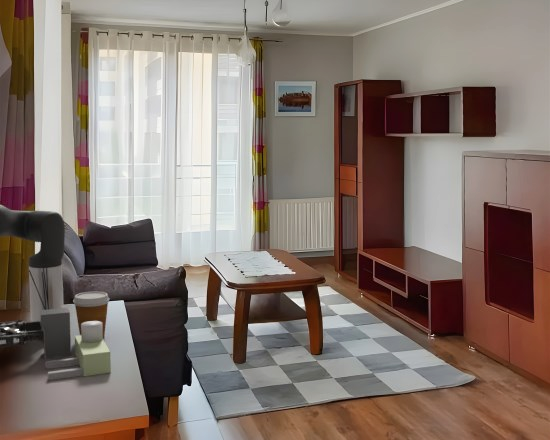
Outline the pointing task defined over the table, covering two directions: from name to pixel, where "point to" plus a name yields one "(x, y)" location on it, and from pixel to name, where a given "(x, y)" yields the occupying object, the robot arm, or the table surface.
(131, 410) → the table surface
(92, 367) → the pale green boxy piece
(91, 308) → the disposable coffee cup
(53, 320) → the grey lidded box
